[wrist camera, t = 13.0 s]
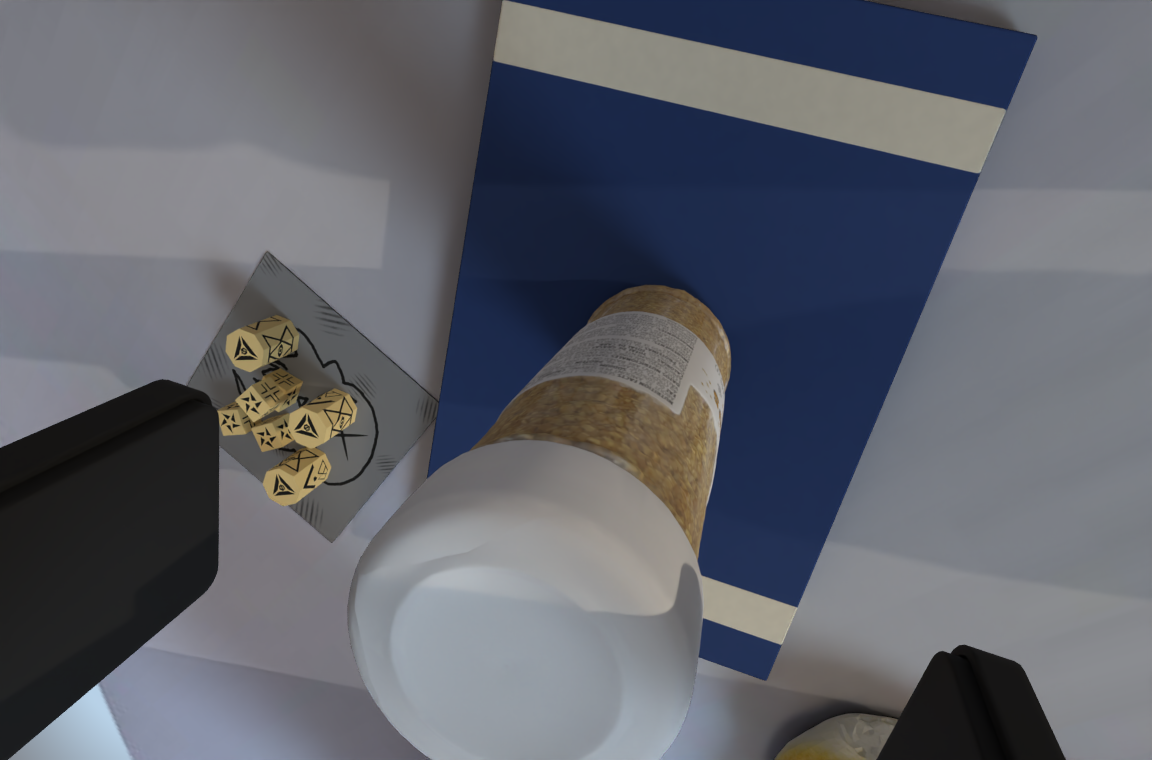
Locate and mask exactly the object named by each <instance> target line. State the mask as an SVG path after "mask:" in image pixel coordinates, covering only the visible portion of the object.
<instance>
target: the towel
mask: <svg viewBox="0 0 1152 760" xmlns="http://www.w3.org/2000/svg"><path fill="white" fill-rule="evenodd" d="M1036 40H1037V36H1036V35H1033V34H1028V33H1023V32H1018V31H1014V30H1009V29H1004V28H999V27H994V26H989V25H984V24H979V23H974V22H969V21H964V20H959V19H954V18H949V17H944V16H939V15H934V14H929V13H924V12H919V11H914V10H909V9H904V8H899V7H894V6H889V5H884V4H879V3H874V2H869V1H864V0H502V6H501V12H500V18H499V25H498V31H497V37H496V44H495V50H494V56H493V63H492V69H491V75H490V82H489V88H488V94H487V101H486V107H485V113H484V120H483V126H482V132H481V139H480V145H479V151H478V158H477V164H476V170H475V177H474V183H473V189H472V196H471V202H470V208H469V215H468V221H467V227H466V234H465V240H464V246H463V253H462V259H461V265H460V272H459V278H458V284H457V291H456V297H455V303H454V310H453V316H452V322H451V329H450V335H449V341H448V348H447V354H446V360H445V367H444V373H443V380H442V386H441V392H440V399H439V405H438V411H437V418H436V424H435V430H434V437H433V443H432V449H431V456H430V462H429V468H428V475H427V479H428V478H429V477H430V476H431V475H432V474H433V473H434V472H436V471H437V470H438V469H439V468H440V467H441V466H443V465H444V464H446V463H448V462H449V461H451V460H453V459H455V458H456V457H458V456H460V455H461V454H463V453H466V452H469V451H470V450H471V449H472V447H474V446H475V445H476V444H477V443H478V442H479V441H480V440H481V439H482V438H483V437H484V436H485V434H486V433H487V432H488V431H489V429H490V428H491V427H492V426H493V425H494V424H495V423H496V421H497V419H498V418H499V416H500V414H501V413H502V411H503V410H504V409H505V408H506V407H507V405H508V404H509V403H510V402H511V401H512V400H513V399H514V398H515V397H516V396H517V395H518V394H519V393H520V391H521V390H522V389H523V388H524V387H525V386H526V385H527V384H528V383H529V382H530V381H531V380H532V379H533V378H534V377H535V376H536V374H537V373H538V372H539V371H540V370H541V369H542V368H543V367H544V366H545V365H546V364H547V363H548V362H549V361H550V360H551V359H552V358H553V357H554V356H555V355H556V354H557V353H558V352H559V351H560V350H561V349H562V348H563V347H564V346H565V345H566V344H567V343H568V342H569V341H570V340H571V338H572V337H573V336H574V335H575V334H577V333H578V332H579V331H580V330H581V329H582V328H584V327H585V326H586V325H587V323H588V321H589V319H590V317H591V316H592V315H593V313H594V312H595V311H596V310H597V309H598V308H599V307H600V306H601V305H602V304H603V303H604V302H605V301H606V300H608V299H609V298H611V297H613V296H614V295H616V294H618V293H620V292H621V291H623V290H625V289H628V288H632V287H638V286H642V285H662V286H667V287H670V288H675V289H680V290H684V291H686V292H687V293H689V294H690V295H692V296H693V297H694V298H696V299H698V300H699V301H700V302H701V303H703V304H704V305H705V306H707V307H708V308H709V309H710V310H711V312H712V313H713V314H714V316H715V317H716V318H717V319H718V320H719V322H720V323H721V325H722V327H723V329H724V331H725V333H726V336H727V338H728V340H729V345H730V350H731V372H730V379H729V382H728V385H727V388H726V390H725V400H724V411H723V418H722V425H721V432H720V439H719V446H718V452H717V459H716V468H715V473H714V479H713V484H712V488H711V492H710V496H709V500H708V503H707V506H706V511H705V519H704V522H703V529H702V535H701V541H700V547H699V554H698V560H697V562H698V566H699V569H700V573H701V577H702V584H703V596H704V610H703V621H702V631H701V641H700V650H699V657H700V658H703V659H705V660H708V661H711V662H714V663H717V664H720V665H722V666H725V667H728V668H731V669H734V670H736V671H739V672H742V673H745V674H748V675H751V676H753V677H756V678H759V679H762V680H765V681H766V680H767V678H768V676H769V674H770V671H771V669H772V666H773V664H774V662H775V659H776V657H777V655H778V652H779V650H780V648H781V645H782V643H783V641H784V638H785V636H786V634H787V631H788V629H789V627H790V624H791V622H792V619H793V617H794V615H795V612H796V610H797V607H798V605H799V602H800V600H801V598H802V595H803V593H804V591H805V588H806V586H807V583H808V581H809V579H810V576H811V574H812V572H813V569H814V567H815V564H816V562H817V560H818V557H819V555H820V553H821V550H822V548H823V545H824V543H825V541H826V538H827V536H828V534H829V531H830V529H831V526H832V524H833V522H834V519H835V517H836V515H837V512H838V510H839V507H840V505H841V503H842V500H843V498H844V496H845V493H846V491H847V488H848V486H849V484H850V481H851V479H852V477H853V474H854V472H855V469H856V467H857V465H858V462H859V460H860V458H861V455H862V453H863V450H864V448H865V446H866V443H867V441H868V439H869V436H870V434H871V431H872V429H873V427H874V424H875V422H876V420H877V417H878V415H879V413H880V410H881V408H882V405H883V403H884V401H885V398H886V396H887V394H888V391H889V389H890V386H891V384H892V382H893V379H894V377H895V375H896V372H897V370H898V367H899V365H900V363H901V360H902V358H903V356H904V353H905V351H906V348H907V346H908V344H909V341H910V339H911V337H912V334H913V332H914V329H915V327H916V325H917V322H918V320H919V318H920V315H921V313H922V310H923V308H924V306H925V303H926V301H927V299H928V296H929V294H930V291H931V289H932V287H933V284H934V282H935V280H936V277H937V275H938V272H939V270H940V268H941V265H942V263H943V261H944V258H945V256H946V253H947V251H948V249H949V246H950V244H951V242H952V239H953V237H954V234H955V232H956V230H957V227H958V225H959V223H960V220H961V218H962V215H963V213H964V211H965V208H966V206H967V204H968V201H969V199H970V196H971V194H972V192H973V189H974V187H975V185H976V182H977V180H978V177H979V175H980V173H981V170H982V168H983V166H984V163H985V161H986V159H987V156H988V154H989V151H990V149H991V147H992V144H993V142H994V140H995V137H996V135H997V132H998V130H999V128H1000V125H1001V123H1002V121H1003V118H1004V116H1005V113H1006V111H1007V109H1008V106H1009V104H1010V102H1011V99H1012V97H1013V94H1014V92H1015V90H1016V87H1017V85H1018V83H1019V80H1020V78H1021V75H1022V73H1023V71H1024V68H1025V66H1026V64H1027V61H1028V59H1029V56H1030V54H1031V52H1032V49H1033V47H1034V45H1035V42H1036Z"/></svg>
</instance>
